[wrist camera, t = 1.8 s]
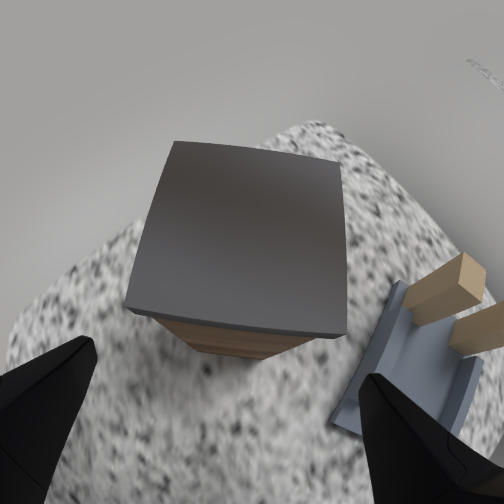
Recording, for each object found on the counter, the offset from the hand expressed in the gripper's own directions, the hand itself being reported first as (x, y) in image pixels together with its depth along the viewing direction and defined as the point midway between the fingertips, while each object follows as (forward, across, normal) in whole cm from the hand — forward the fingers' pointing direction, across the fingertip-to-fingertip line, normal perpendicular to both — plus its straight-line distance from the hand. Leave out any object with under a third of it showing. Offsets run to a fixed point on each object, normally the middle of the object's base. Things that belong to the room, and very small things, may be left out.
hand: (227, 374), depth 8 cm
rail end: (+10, 0, +5) cm, 11 cm away
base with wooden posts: (+8, -14, +8) cm, 18 cm away
